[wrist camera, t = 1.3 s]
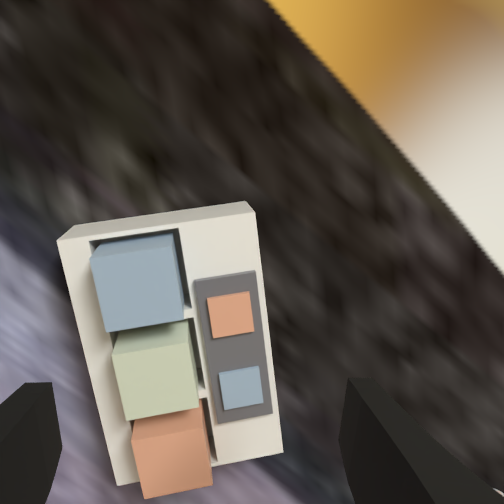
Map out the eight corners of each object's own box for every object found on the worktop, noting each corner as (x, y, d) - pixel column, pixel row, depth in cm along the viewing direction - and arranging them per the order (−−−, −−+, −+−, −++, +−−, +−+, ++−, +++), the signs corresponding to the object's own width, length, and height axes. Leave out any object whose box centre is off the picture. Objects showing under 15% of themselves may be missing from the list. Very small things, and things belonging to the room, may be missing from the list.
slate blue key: (115, 308, 20) (105, 332, 17) (101, 242, 19) (89, 258, 16) (184, 297, 20) (183, 319, 18) (172, 232, 19) (171, 246, 17)
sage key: (132, 388, 21) (126, 421, 18) (119, 329, 20) (111, 355, 18) (197, 376, 21) (199, 407, 19) (187, 318, 20) (187, 342, 18)
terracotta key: (148, 460, 22) (144, 499, 19) (136, 407, 21) (130, 441, 19) (209, 448, 22) (212, 485, 20) (200, 395, 21) (202, 427, 19)
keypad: (125, 443, 24) (115, 494, 21) (74, 225, 21) (53, 243, 17) (272, 414, 25) (285, 459, 21) (245, 201, 21) (256, 214, 18)
